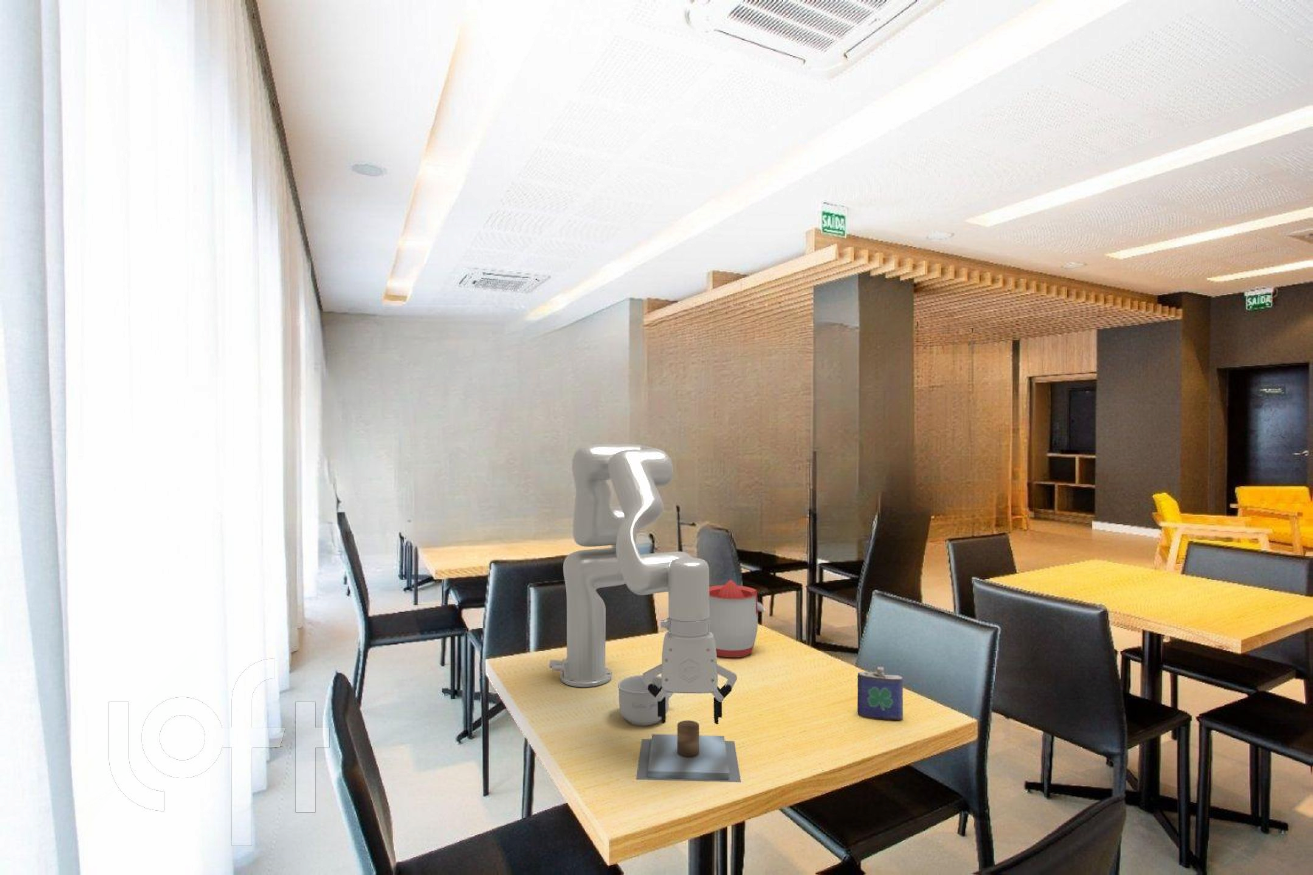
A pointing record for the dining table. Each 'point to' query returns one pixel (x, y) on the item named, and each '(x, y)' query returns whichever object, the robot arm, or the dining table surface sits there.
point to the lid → (688, 755)
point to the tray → (733, 777)
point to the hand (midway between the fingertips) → (689, 720)
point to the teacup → (639, 700)
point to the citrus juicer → (733, 618)
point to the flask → (880, 695)
